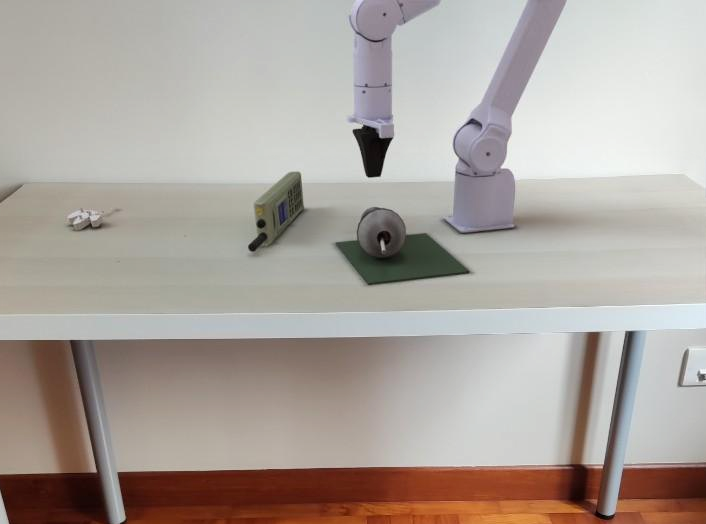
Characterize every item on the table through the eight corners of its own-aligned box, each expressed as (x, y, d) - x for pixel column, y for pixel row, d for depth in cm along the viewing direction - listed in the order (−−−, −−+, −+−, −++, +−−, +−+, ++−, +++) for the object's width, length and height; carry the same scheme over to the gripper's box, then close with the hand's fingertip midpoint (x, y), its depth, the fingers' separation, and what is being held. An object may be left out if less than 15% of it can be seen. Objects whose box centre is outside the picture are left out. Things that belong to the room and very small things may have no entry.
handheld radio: (307, 209, 143) (263, 256, 122) (289, 209, 144) (243, 256, 123) (303, 171, 140) (259, 212, 119) (285, 171, 141) (237, 212, 119)
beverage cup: (404, 208, 129) (422, 229, 110) (386, 251, 131) (400, 278, 113) (362, 190, 127) (373, 208, 109) (344, 233, 130) (352, 258, 111)
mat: (425, 234, 130) (425, 233, 130) (469, 272, 115) (469, 270, 115) (335, 244, 127) (335, 242, 127) (368, 284, 112) (368, 282, 112)
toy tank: (63, 230, 134) (60, 215, 133) (85, 211, 144) (83, 196, 143) (97, 230, 134) (95, 214, 132) (117, 210, 144) (115, 196, 142)
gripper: (334, 79, 126) (337, 167, 133) (360, 93, 114) (361, 190, 121) (378, 76, 128) (378, 164, 134) (408, 90, 116) (406, 186, 122)
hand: (373, 176), depth 128 cm, fingers closed
